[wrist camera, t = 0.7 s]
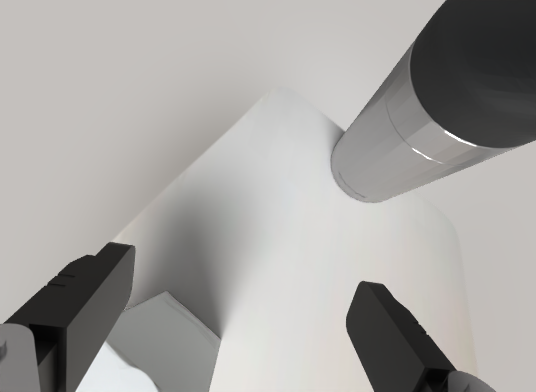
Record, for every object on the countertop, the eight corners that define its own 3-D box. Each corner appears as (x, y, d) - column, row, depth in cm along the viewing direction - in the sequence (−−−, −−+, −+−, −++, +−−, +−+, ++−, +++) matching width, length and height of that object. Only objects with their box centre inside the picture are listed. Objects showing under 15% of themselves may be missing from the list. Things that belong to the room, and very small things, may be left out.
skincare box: (127, 333, 29) (-5, 418, 14) (169, 286, 30) (86, 319, 15) (187, 390, 28) (113, 543, 13) (228, 340, 29) (200, 430, 14)
